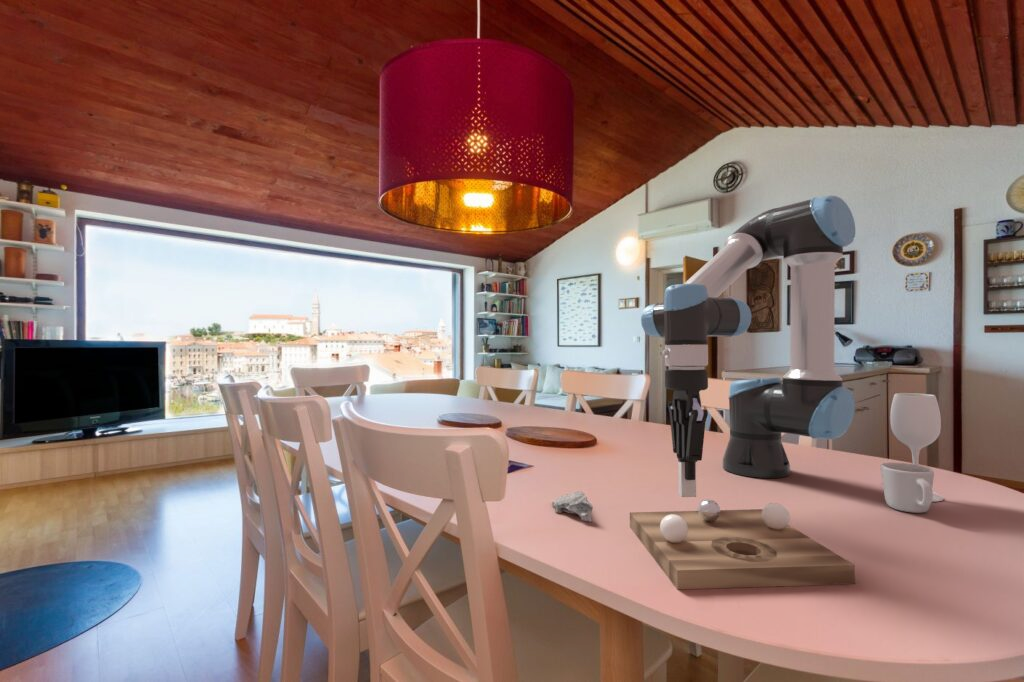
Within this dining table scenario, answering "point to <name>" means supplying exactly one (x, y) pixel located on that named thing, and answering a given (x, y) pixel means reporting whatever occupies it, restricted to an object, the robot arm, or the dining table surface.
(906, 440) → the wineglass
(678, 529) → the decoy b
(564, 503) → the stone
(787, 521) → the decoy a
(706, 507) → the steel ball
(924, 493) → the cup
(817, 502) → the dining table surface
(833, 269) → the robot arm
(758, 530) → the board
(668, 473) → the dining table surface
